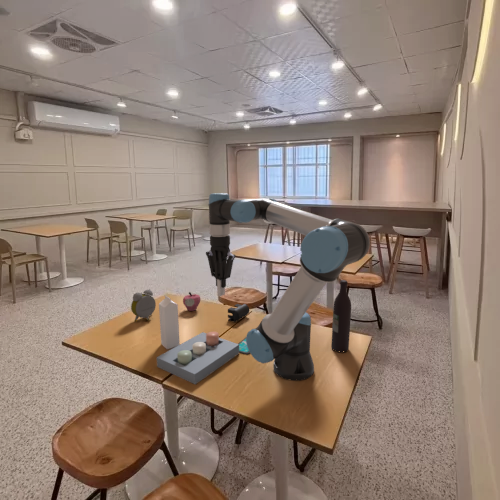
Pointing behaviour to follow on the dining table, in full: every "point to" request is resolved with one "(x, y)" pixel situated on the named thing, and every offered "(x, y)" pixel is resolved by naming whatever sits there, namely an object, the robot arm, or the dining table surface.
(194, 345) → the button cream
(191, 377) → the console
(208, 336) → the button terracotta
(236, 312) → the end cap
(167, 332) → the milk
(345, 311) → the wine bottle
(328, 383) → the dining table surface
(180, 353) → the button sage
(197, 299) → the apple
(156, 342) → the dining table surface
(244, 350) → the smartphone
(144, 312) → the alarm clock
